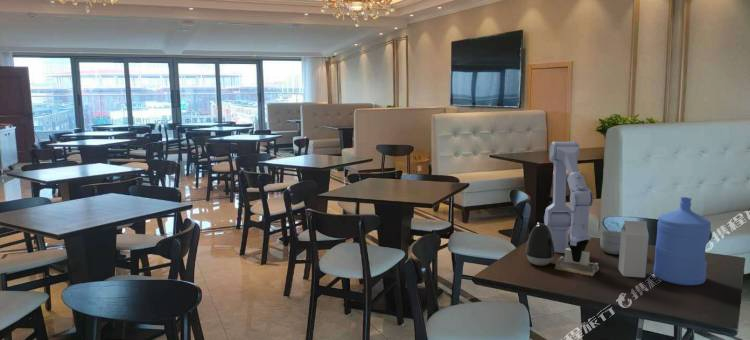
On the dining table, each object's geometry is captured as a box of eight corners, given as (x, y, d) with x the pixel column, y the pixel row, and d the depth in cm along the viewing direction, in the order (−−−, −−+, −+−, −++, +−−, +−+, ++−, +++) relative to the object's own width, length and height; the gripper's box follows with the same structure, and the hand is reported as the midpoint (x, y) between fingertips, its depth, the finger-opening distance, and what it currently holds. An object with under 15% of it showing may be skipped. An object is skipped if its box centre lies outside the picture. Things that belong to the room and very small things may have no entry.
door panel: (565, 263, 196) (566, 247, 195) (588, 268, 191) (589, 251, 190) (564, 265, 194) (564, 249, 193) (587, 269, 189) (588, 253, 188)
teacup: (593, 250, 214) (594, 231, 213) (612, 247, 219) (614, 228, 218) (622, 260, 202) (623, 240, 201) (642, 256, 206) (643, 236, 205)
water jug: (678, 288, 174) (686, 204, 170) (642, 272, 189) (649, 194, 185) (716, 283, 178) (725, 201, 174) (678, 268, 193) (685, 192, 189)
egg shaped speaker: (550, 259, 203) (552, 220, 201) (556, 268, 193) (559, 227, 190) (523, 258, 204) (524, 219, 202) (528, 267, 194) (529, 226, 191)
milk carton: (645, 278, 183) (649, 224, 180) (623, 276, 185) (627, 223, 182) (639, 271, 190) (643, 219, 187) (618, 269, 192) (622, 218, 189)
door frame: (562, 262, 200) (562, 255, 199) (598, 269, 192) (599, 261, 192) (554, 268, 192) (555, 261, 192) (592, 276, 185) (593, 268, 185)
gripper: (586, 229, 182) (583, 268, 184) (596, 221, 193) (594, 257, 195) (564, 226, 186) (562, 264, 188) (576, 218, 197) (574, 253, 199)
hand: (577, 260), depth 192 cm, fingers closed on door panel, 2 cm apart
